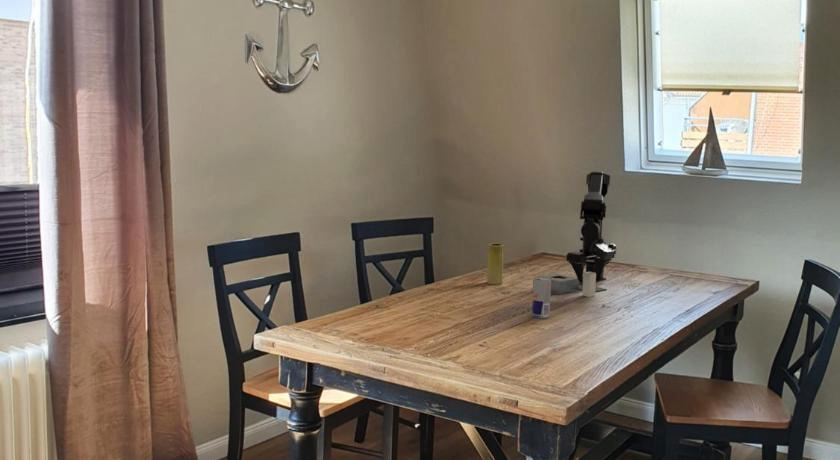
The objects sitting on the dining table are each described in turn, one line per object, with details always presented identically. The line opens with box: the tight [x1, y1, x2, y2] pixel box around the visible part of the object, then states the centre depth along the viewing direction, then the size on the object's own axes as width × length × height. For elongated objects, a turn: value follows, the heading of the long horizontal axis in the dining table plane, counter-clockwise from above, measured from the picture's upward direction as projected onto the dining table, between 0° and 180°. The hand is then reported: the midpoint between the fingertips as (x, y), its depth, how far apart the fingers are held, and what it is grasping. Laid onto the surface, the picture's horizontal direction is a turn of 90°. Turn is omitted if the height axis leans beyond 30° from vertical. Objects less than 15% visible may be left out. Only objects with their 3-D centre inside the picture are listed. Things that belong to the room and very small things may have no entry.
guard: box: [539, 273, 580, 295], centre depth 303 cm, size 10×10×4 cm
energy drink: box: [531, 276, 552, 320], centre depth 264 cm, size 5×5×12 cm
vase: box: [486, 242, 504, 286], centre depth 311 cm, size 6×6×14 cm
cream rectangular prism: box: [582, 271, 597, 298], centre depth 294 cm, size 3×3×8 cm
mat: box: [579, 285, 608, 293], centre depth 304 cm, size 8×8×1 cm
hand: (589, 280), depth 294 cm, fingers open, 9 cm apart
